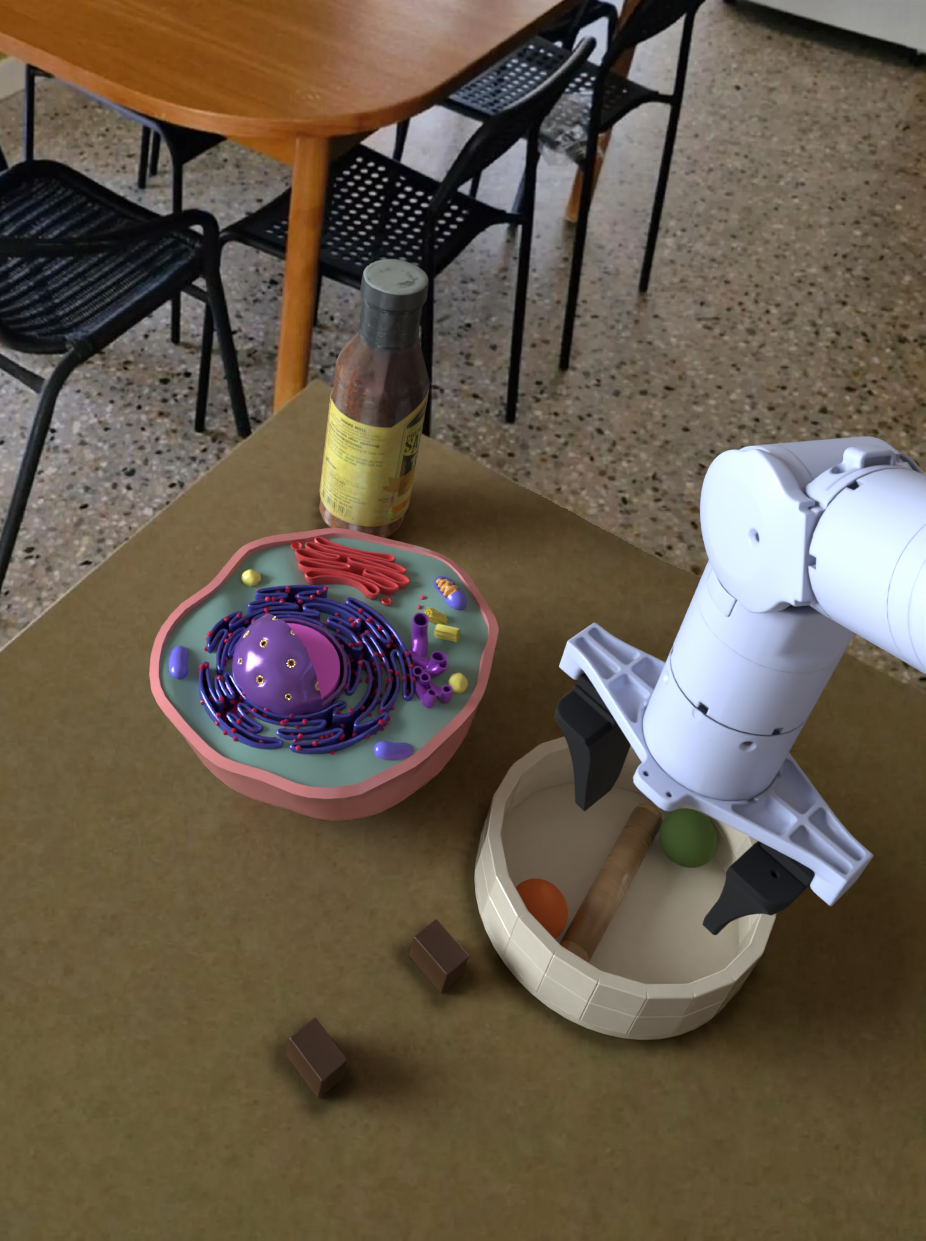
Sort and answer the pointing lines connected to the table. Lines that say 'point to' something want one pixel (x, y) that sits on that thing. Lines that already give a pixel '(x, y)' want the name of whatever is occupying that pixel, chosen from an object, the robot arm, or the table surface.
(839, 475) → the robot arm
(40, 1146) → the table surface
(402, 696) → the cell model
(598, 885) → the stick
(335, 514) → the sauce bottle
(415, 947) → the stick rest
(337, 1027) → the table surface
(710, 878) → the cream shallow round container
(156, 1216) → the table surface
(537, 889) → the orange ball
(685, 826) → the green ball
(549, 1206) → the table surface
